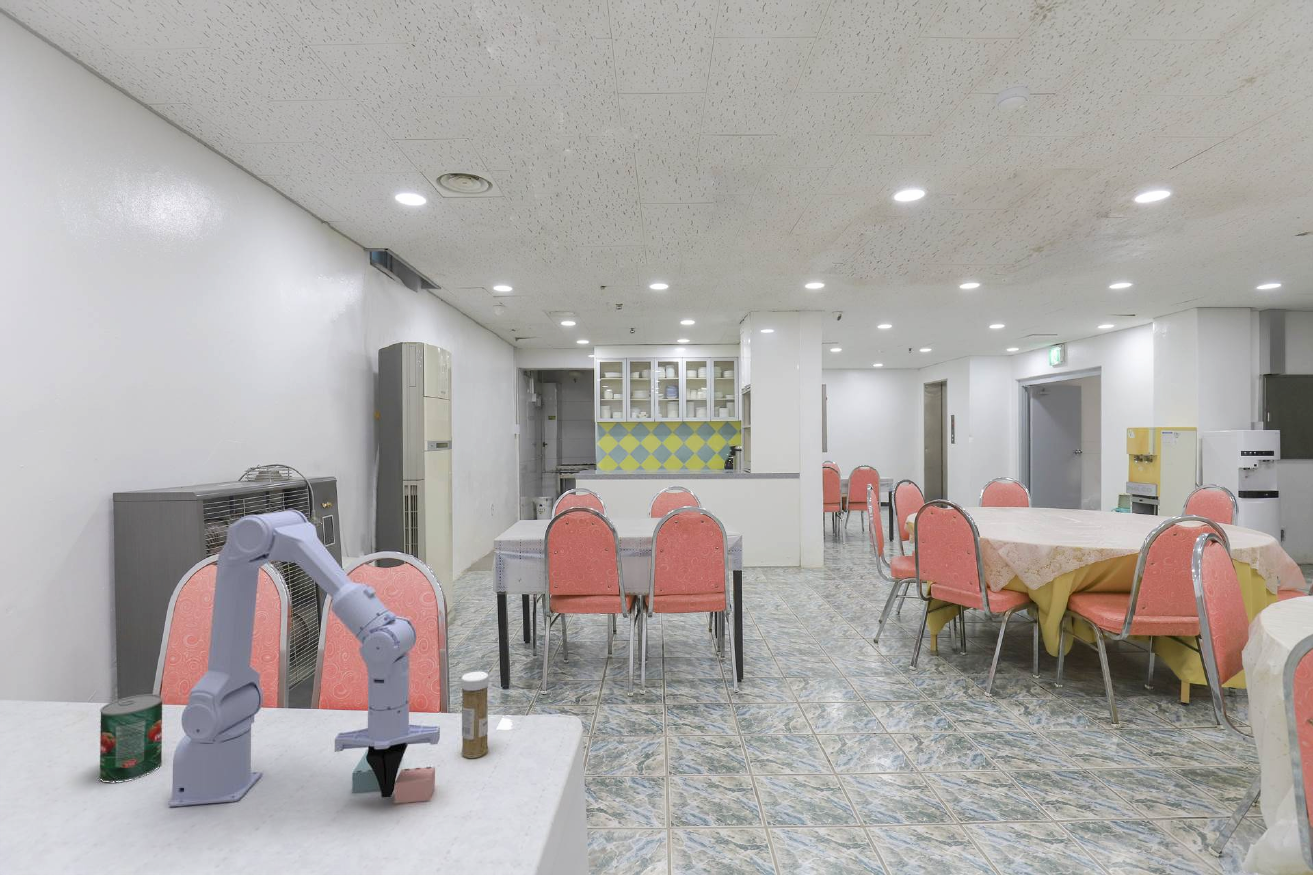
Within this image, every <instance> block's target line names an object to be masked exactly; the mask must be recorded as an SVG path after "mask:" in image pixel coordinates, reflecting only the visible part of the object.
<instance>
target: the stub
mask: <svg viewBox="0 0 1313 875" xmlns="http://www.w3.org/2000/svg"><path fill="white" fill-rule="evenodd" d="M435 787H436V767H435V766H426V767H415V768H402V769H400V771H399V773H398V774H397V776H396V780H395V786H394V804H401V803H402V804H403V803H404V804H405V803H414V802H415V803H416V802H424V801H425V802H426V801H431V798H432V794H433V793H434V789H435Z"/></svg>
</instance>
